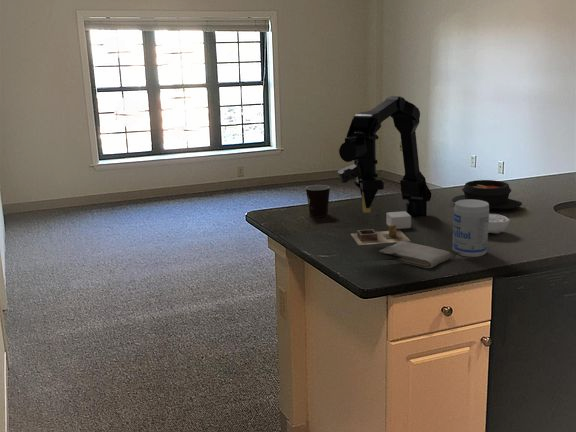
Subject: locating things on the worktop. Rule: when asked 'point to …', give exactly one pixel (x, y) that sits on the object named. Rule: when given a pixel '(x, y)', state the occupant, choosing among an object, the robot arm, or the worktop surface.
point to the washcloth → (417, 254)
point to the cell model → (497, 223)
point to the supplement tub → (470, 227)
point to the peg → (365, 210)
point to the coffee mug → (318, 199)
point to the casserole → (489, 194)
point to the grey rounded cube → (399, 219)
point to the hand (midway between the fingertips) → (366, 207)
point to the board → (379, 236)
